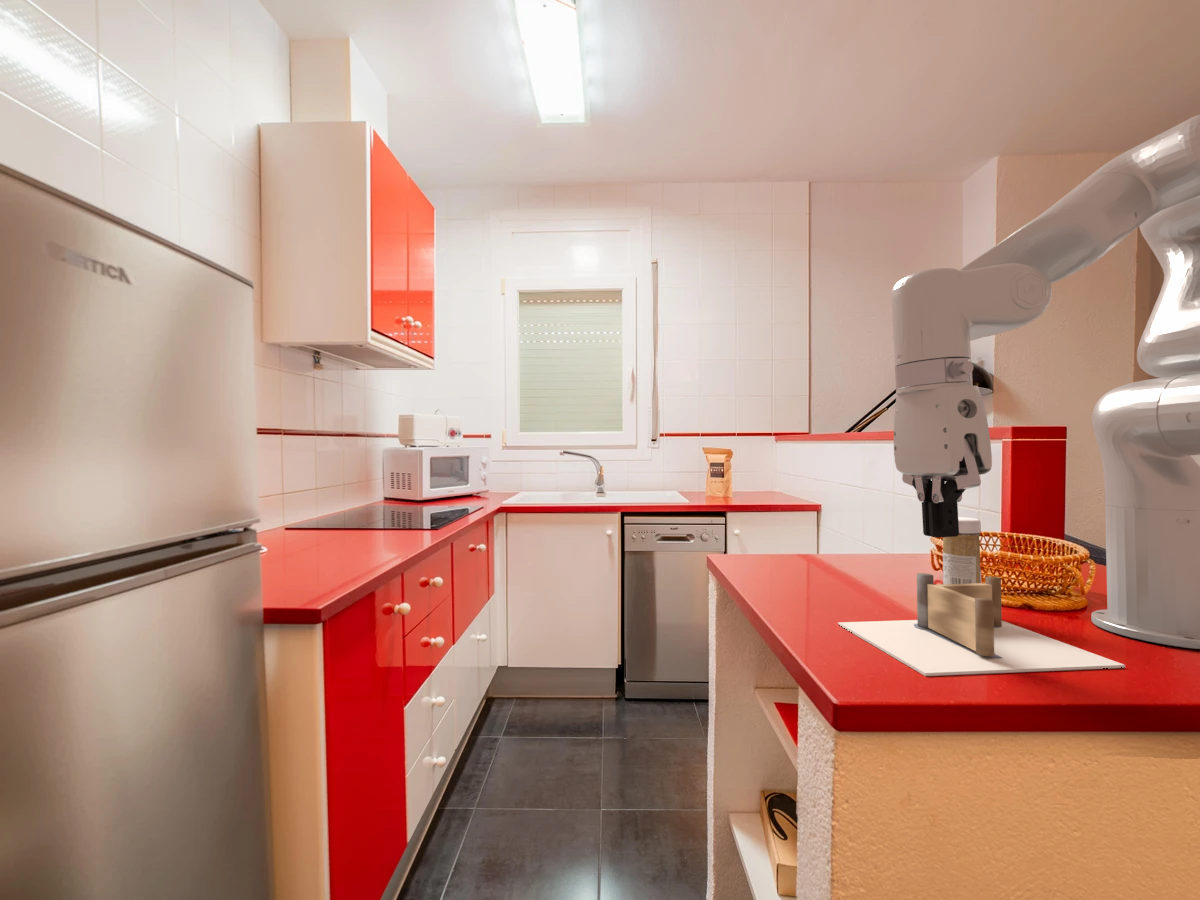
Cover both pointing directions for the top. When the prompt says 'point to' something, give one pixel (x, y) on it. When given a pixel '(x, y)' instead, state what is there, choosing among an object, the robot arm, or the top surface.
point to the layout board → (952, 658)
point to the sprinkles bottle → (962, 554)
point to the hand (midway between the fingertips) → (941, 535)
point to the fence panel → (962, 618)
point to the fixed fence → (975, 590)
